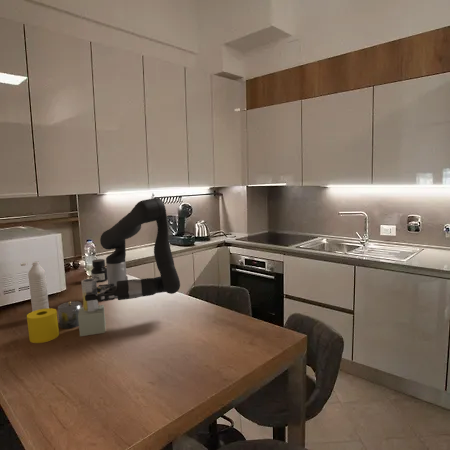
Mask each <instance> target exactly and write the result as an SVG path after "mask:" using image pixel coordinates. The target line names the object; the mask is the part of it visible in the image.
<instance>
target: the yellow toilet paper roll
mask: <svg viewBox="0 0 450 450" xmlns="http://www.w3.org/2000/svg"><path fill="white" fill-rule="evenodd" d="M26 321H27V330H28V339H29V342H30V343H33V344H43V343H46V342H50V341H52V340H55V339H57V338H58V337H59V336H60V329H59V318H58V309H56V308H52V307H51V308H50V307H49V308H45V309H39V310H36V311H33V312H32V311H31V312H29V313H28V314H26Z"/></svg>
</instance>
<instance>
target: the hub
mask: <svg viewBox="0 0 450 450" xmlns="http://www.w3.org/2000/svg"><path fill="white" fill-rule="evenodd" d="M80 308H83V302H81V301H76V300H75V301H68V302H64V303H61V304H59V305H58V306H57V316H58V326H59V328H61V329H74V328H77V327H78V328H79V321H78V314H79V310H80Z"/></svg>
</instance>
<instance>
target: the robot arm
mask: <svg viewBox="0 0 450 450" xmlns="http://www.w3.org/2000/svg"><path fill="white" fill-rule="evenodd" d="M151 222H156V225H157V234H156V239H155V241H154V246H153V247H154V248H153V255H154V259H155V264H156V267H157V270H158V272H159V275H160V276H156V277H148V278H137V279H136V278H135V279H133V278H132V279H128V276H127V265H126V264H127V263H126V255H127V254H126V240H128V239H130V238H132V237H134V236H136V235H137V234H138V233H139V232H140V231H141V228H142V225H144V224H147V223H151ZM99 241H100V246H101V247H102V248H103V249H104V250H114V251H113V252H112V253H110V254H109V255H108V256H107V257H105V267H106V268H107V278H108V280H107V284H98V285H97V294H89V295H85V300H86V301H91V300H97V301H98V303H101V302H107V301H114V300H115V299H116V298H117V301H125V300H133V299H139V298H141V297H142V298H143V297H148V296H149V297H150V296H154V295H156V294H160V293H167V294H170V295H174V294H176V293H178V291H179V290H180V287H181V282H180V278H179V277H180V276H179V275H178V272H177V269H176V266H175V261H174V257H173V254H172V253H173V252H172V249H171V245H170V237H169V225H168V218H167V210H166V206H165V203H164V201H163V200H162V198H159V197H154V198H149V199H142V200H140V201H138V202H137V203H136V204H135V205H134V207H133V208H132V209H131V211H129V212H128V213H127V214H126V215H125V216H124V217H122V218H121V219H120V220H119V221H118V222H116V223H115V224H114V225H113V226H112V227H111V228H109V229H106V230H105V231H103V232H102V234H101V235H100V238H99Z"/></svg>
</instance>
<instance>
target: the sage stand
mask: <svg viewBox="0 0 450 450" xmlns="http://www.w3.org/2000/svg"><path fill="white" fill-rule="evenodd" d="M98 306H99V310H98V311H96V312H92V313H86V312H84V307H82V308H80V310H79V314H78V321H79V326H78V329H79V330H78V331H79V337H86V336H92V335H99V334H105V333H106V324H107V323H106V314H105V311H106V310H105V304H100V305H99V304H98Z"/></svg>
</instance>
